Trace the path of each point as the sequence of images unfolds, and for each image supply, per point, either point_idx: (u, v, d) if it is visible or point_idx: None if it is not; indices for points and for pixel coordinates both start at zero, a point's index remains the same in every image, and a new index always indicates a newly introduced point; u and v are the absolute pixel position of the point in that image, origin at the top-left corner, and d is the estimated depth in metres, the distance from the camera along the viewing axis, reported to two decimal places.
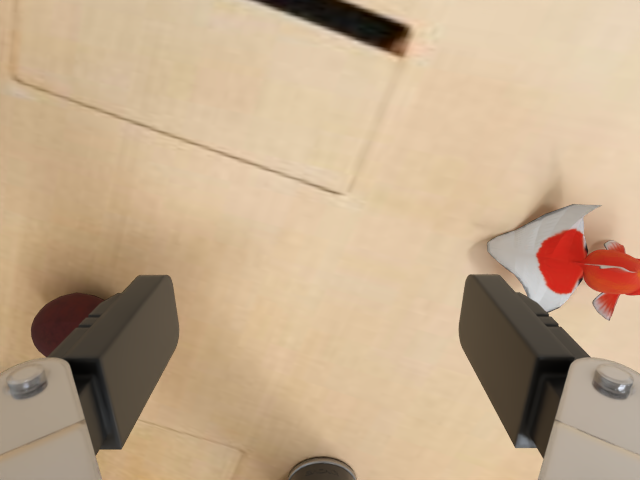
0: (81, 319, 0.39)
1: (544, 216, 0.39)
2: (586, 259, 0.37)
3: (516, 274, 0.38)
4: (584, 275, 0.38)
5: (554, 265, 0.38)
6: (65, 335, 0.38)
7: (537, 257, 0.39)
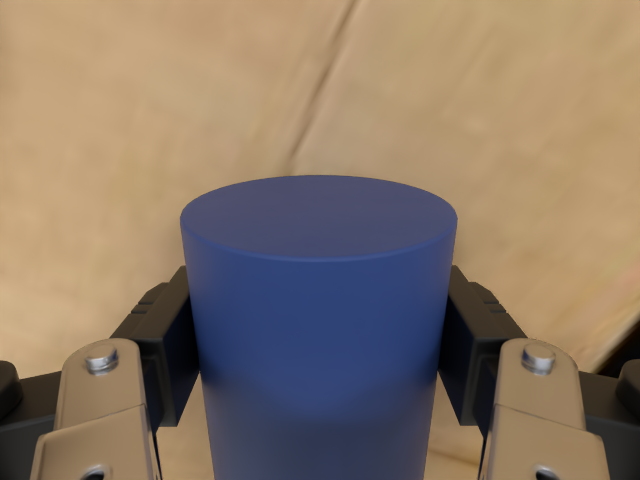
0: None
1: None
2: None
3: None
4: None
5: None
6: None
7: None
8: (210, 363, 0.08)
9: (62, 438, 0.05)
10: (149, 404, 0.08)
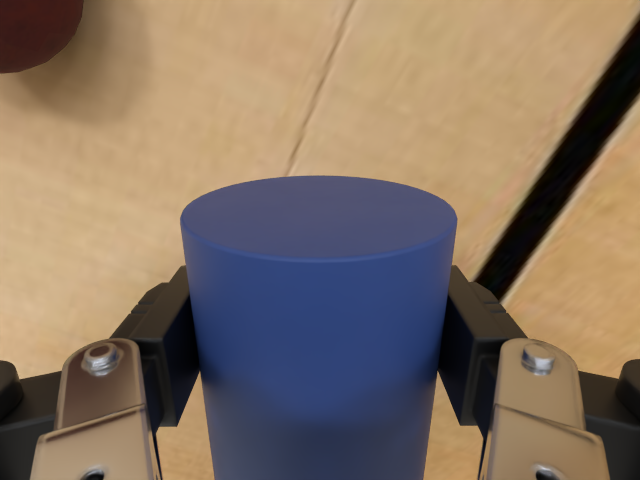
0: None
1: None
2: None
3: None
4: None
5: None
6: None
7: None
8: (210, 363, 0.08)
9: (63, 438, 0.05)
10: (149, 404, 0.08)
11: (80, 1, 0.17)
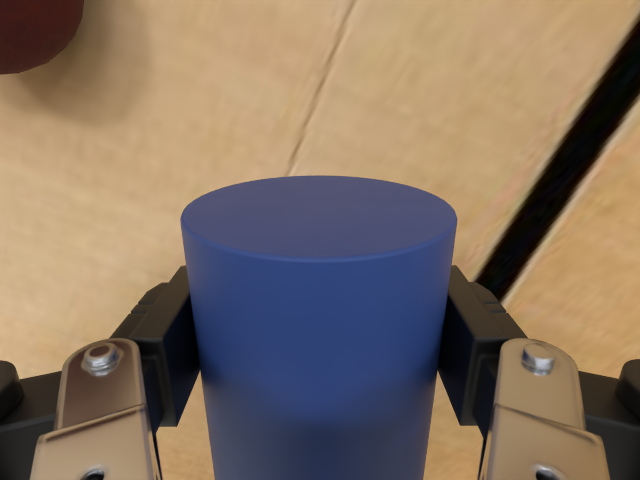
0: None
1: None
2: None
3: None
4: None
5: None
6: None
7: None
8: (210, 363, 0.08)
9: (62, 437, 0.05)
10: (149, 403, 0.08)
11: (80, 2, 0.17)
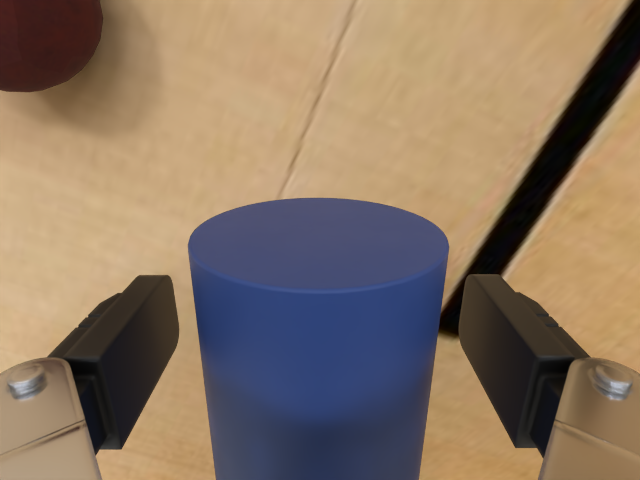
0: None
1: None
2: None
3: None
4: None
5: None
6: None
7: None
8: (215, 382, 0.09)
9: None
10: None
11: (99, 27, 0.19)
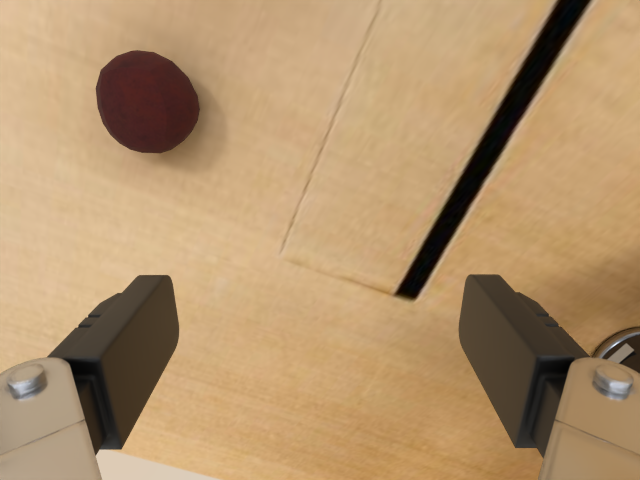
0: (101, 75, 0.29)
1: None
2: None
3: None
4: None
5: None
6: (111, 92, 0.29)
7: None
8: None
9: None
10: None
11: None
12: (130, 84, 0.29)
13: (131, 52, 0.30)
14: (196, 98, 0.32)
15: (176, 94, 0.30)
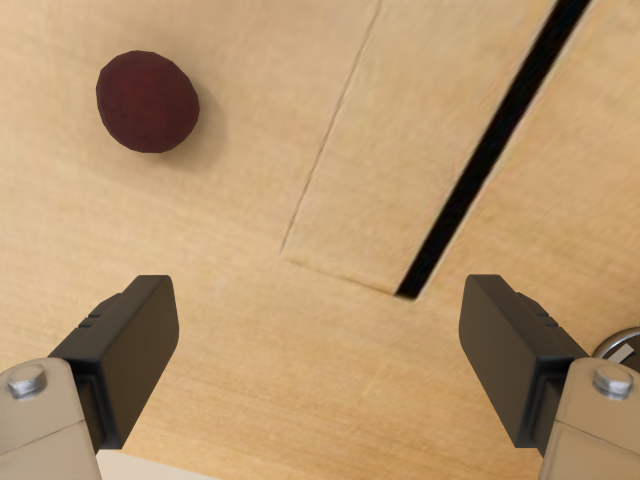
0: (101, 75, 0.29)
1: None
2: None
3: None
4: None
5: None
6: (111, 92, 0.29)
7: None
8: None
9: None
10: None
11: None
12: (130, 84, 0.29)
13: (131, 52, 0.30)
14: (196, 98, 0.32)
15: (176, 94, 0.30)
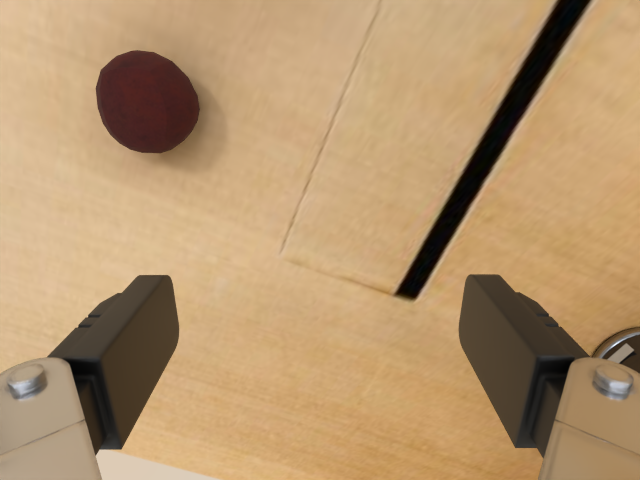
0: (101, 75, 0.29)
1: None
2: None
3: None
4: None
5: None
6: (111, 92, 0.29)
7: None
8: None
9: None
10: None
11: None
12: (130, 84, 0.29)
13: (131, 52, 0.30)
14: (196, 98, 0.32)
15: (176, 94, 0.30)
